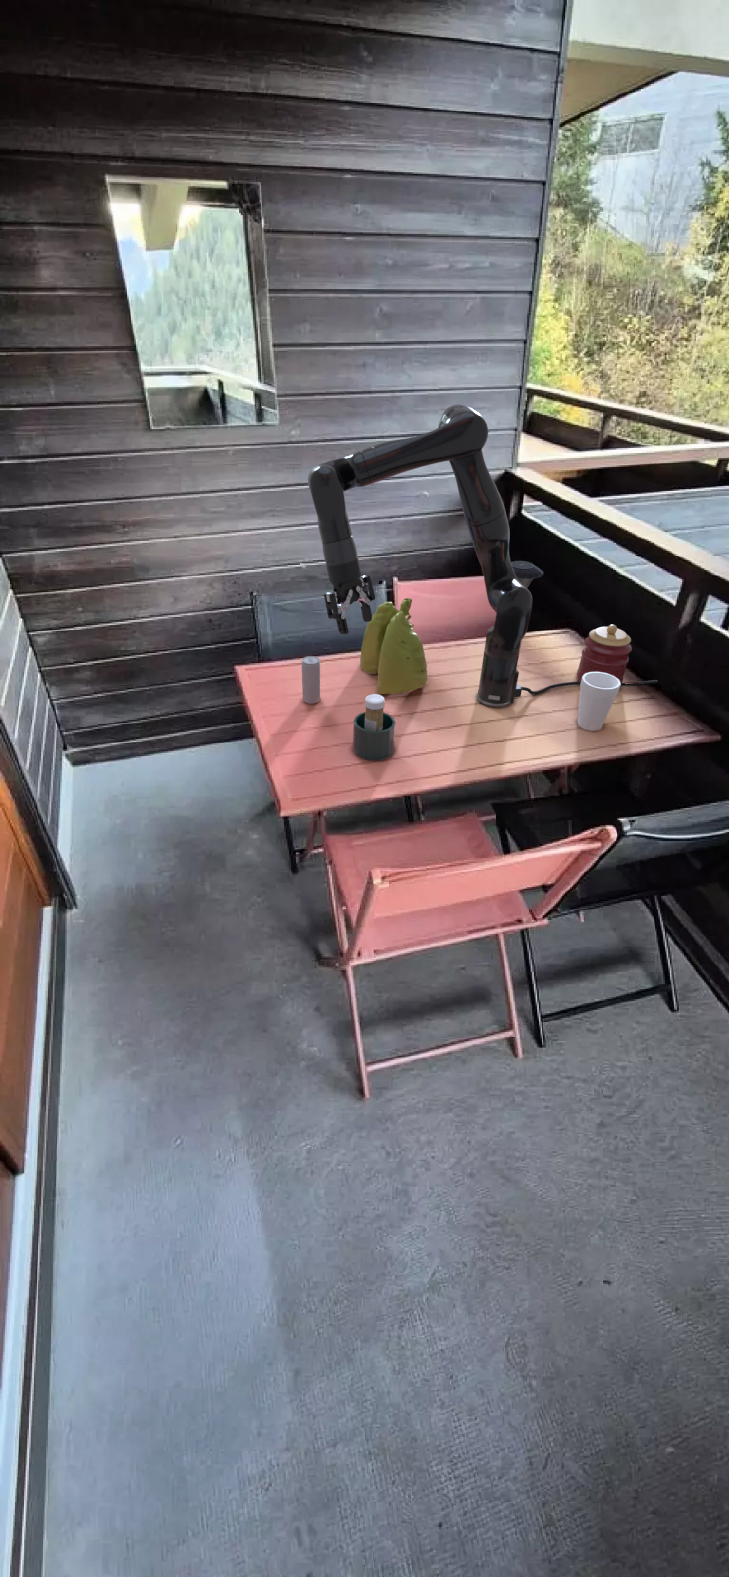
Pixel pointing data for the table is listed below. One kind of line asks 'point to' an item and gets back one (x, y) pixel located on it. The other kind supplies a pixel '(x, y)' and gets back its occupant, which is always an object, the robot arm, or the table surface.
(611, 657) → the kitchen canister
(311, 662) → the beverage can
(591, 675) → the foam cup
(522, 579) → the solar garden light
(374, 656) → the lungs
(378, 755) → the cup
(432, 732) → the table surface
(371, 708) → the sprinkles bottle
